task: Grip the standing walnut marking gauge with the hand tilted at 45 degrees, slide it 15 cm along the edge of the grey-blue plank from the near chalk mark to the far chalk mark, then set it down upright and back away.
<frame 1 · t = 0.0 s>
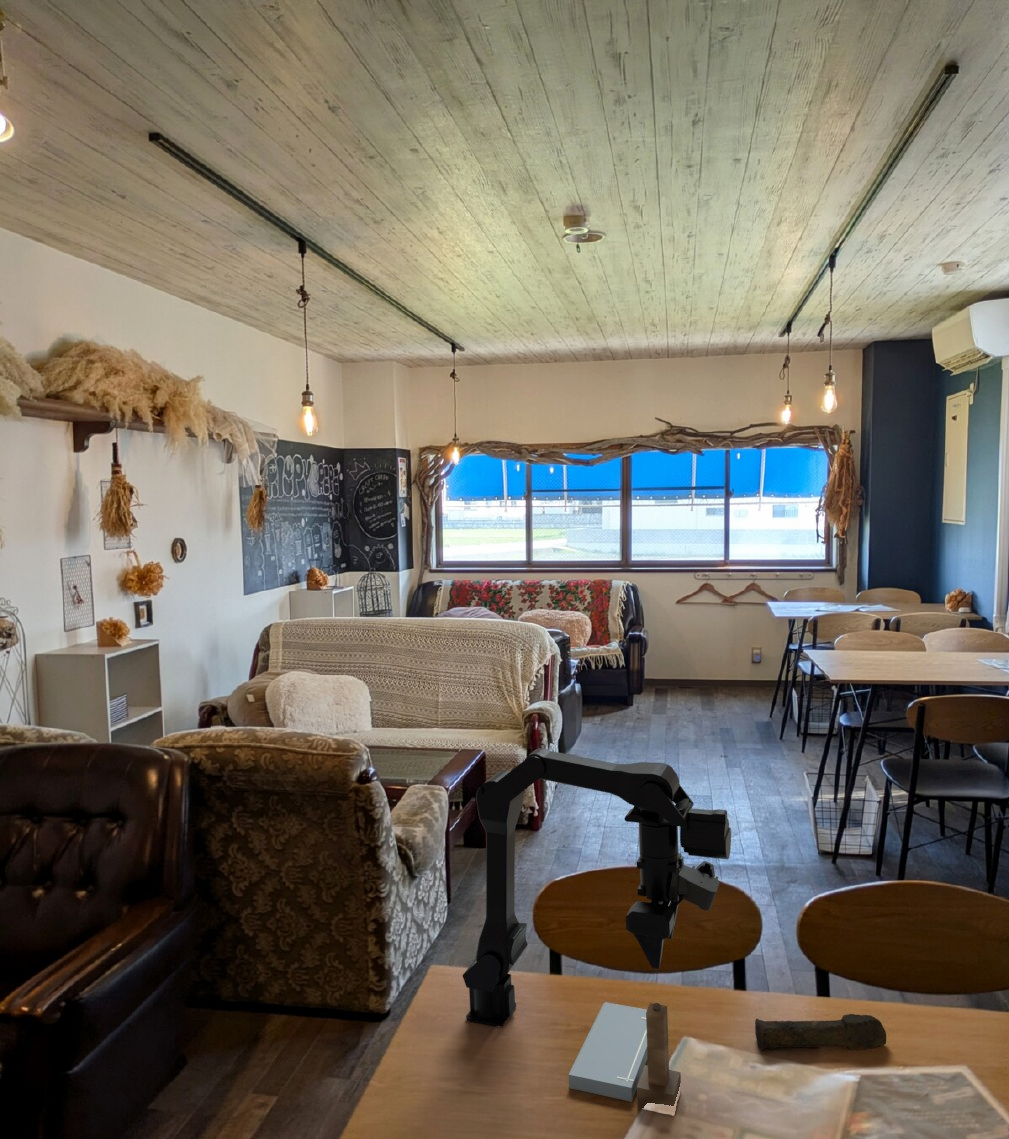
hand: (662, 952, 130), 15 cm above the table, tool pointing down, fingers open, 9 cm apart
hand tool: (819, 1045, 131), on the table
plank: (617, 1054, 130), on the table
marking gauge: (659, 1100, 119), on the table
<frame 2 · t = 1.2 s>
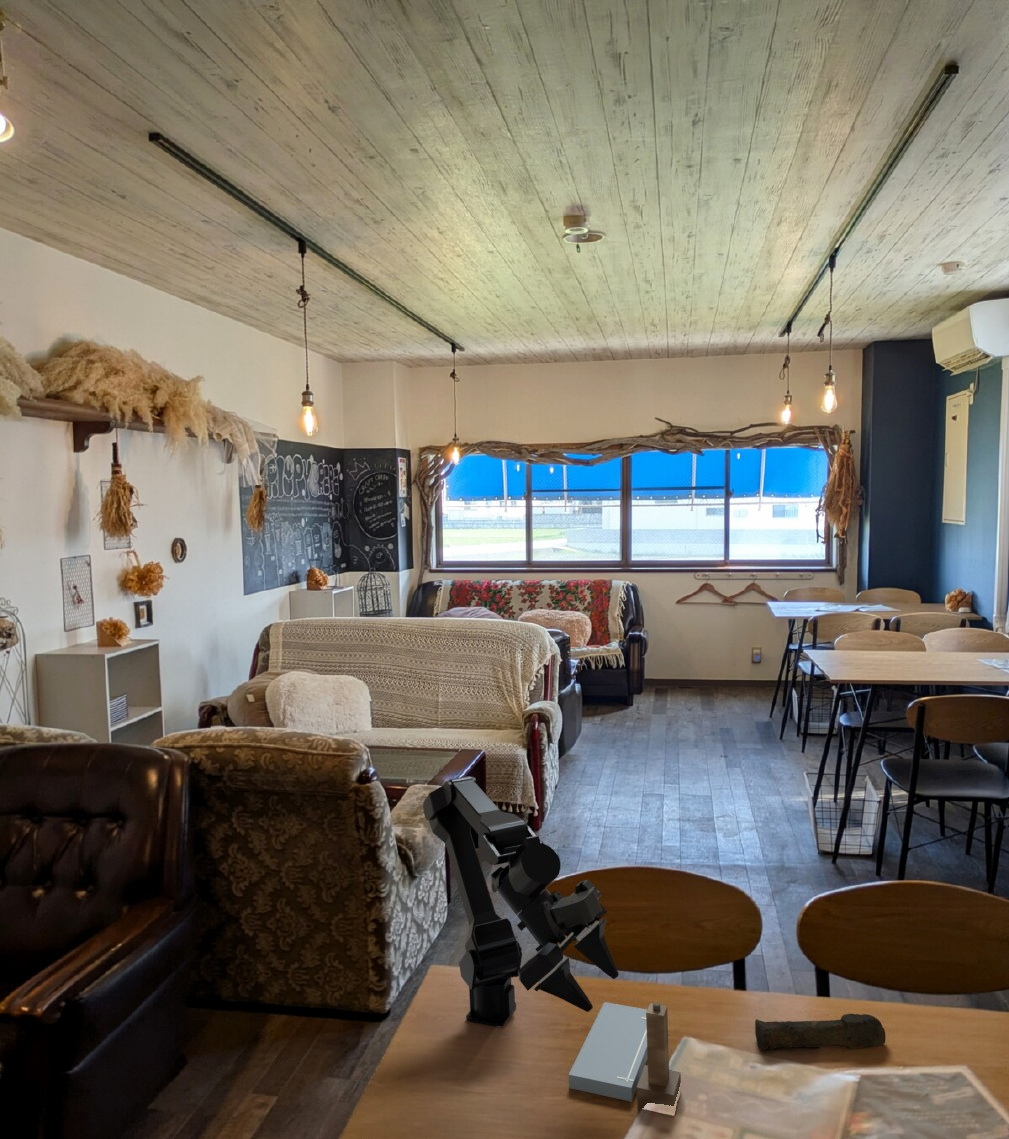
hand: (604, 992, 122), 13 cm above the table, tool tilted 45°, fingers open, 9 cm apart
nothing on the table moved.
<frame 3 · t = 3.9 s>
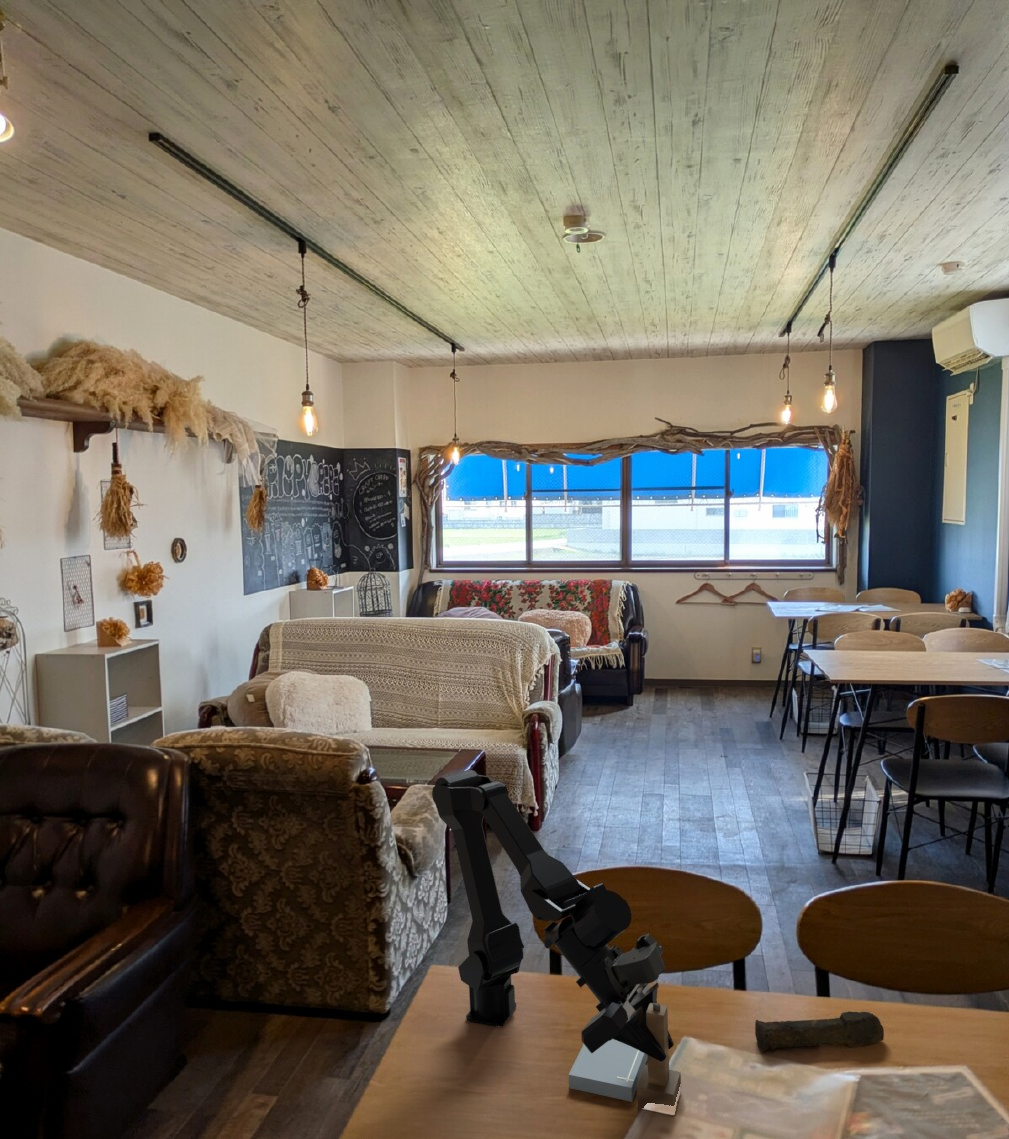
hand: (667, 1053, 118), 7 cm above the table, tool tilted 45°, fingers closed on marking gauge, 3 cm apart
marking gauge: (659, 1100, 119), on the table, touching gripper
everything else where it was.
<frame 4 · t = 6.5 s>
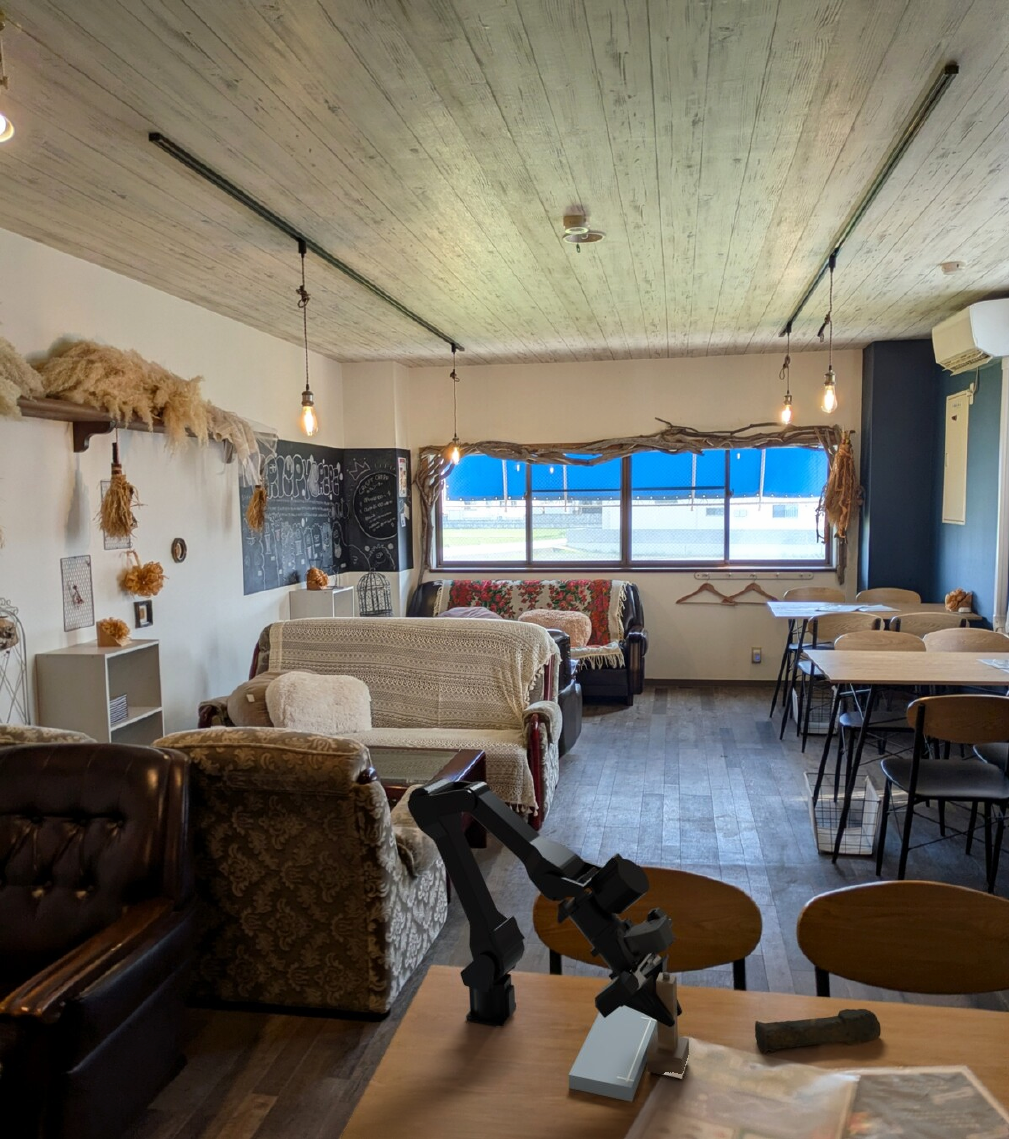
hand: (676, 1019, 125), 8 cm above the table, tool tilted 45°, fingers closed on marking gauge, 3 cm apart
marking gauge: (668, 1064, 126), point 1 cm above the table, touching gripper
everything else where it was.
when the fingers open (7 cm above the table, at t = 9.3 s): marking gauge stays where it is, on the table.
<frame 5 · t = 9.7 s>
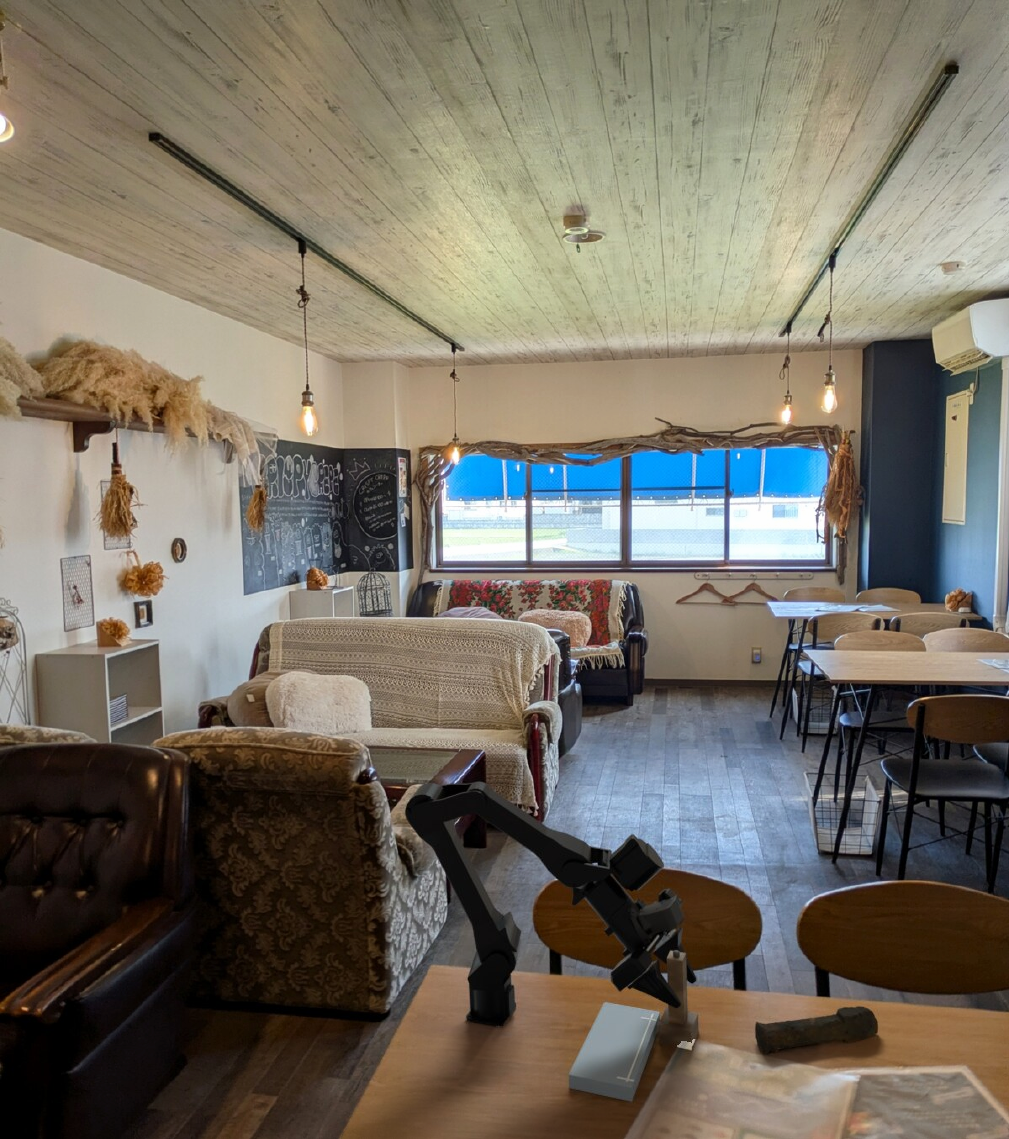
hand: (687, 993, 132), 7 cm above the table, tool tilted 45°, fingers open, 7 cm apart
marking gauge: (678, 1037, 133), on the table
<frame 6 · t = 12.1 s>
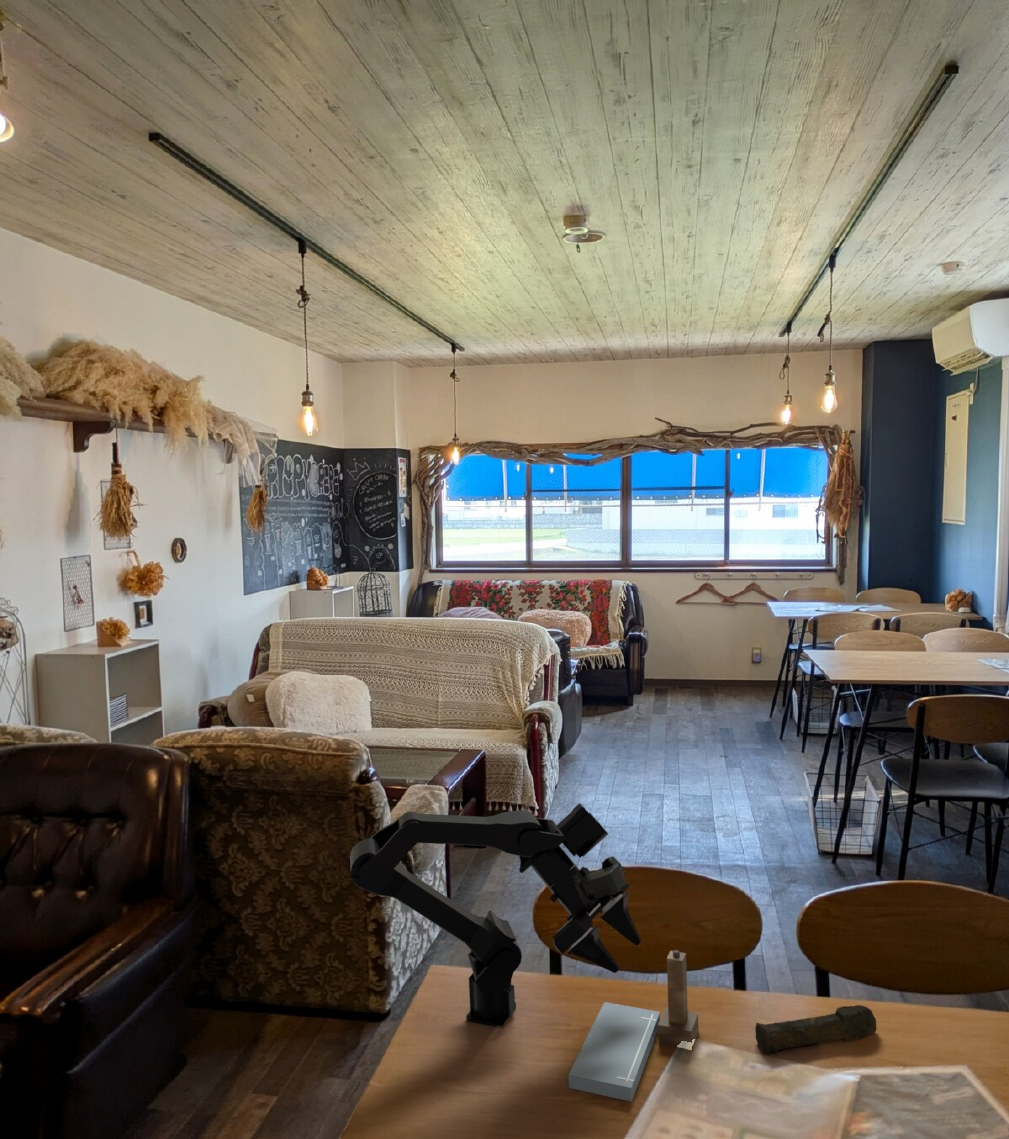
hand: (628, 957, 137), 11 cm above the table, tool tilted 45°, fingers open, 9 cm apart
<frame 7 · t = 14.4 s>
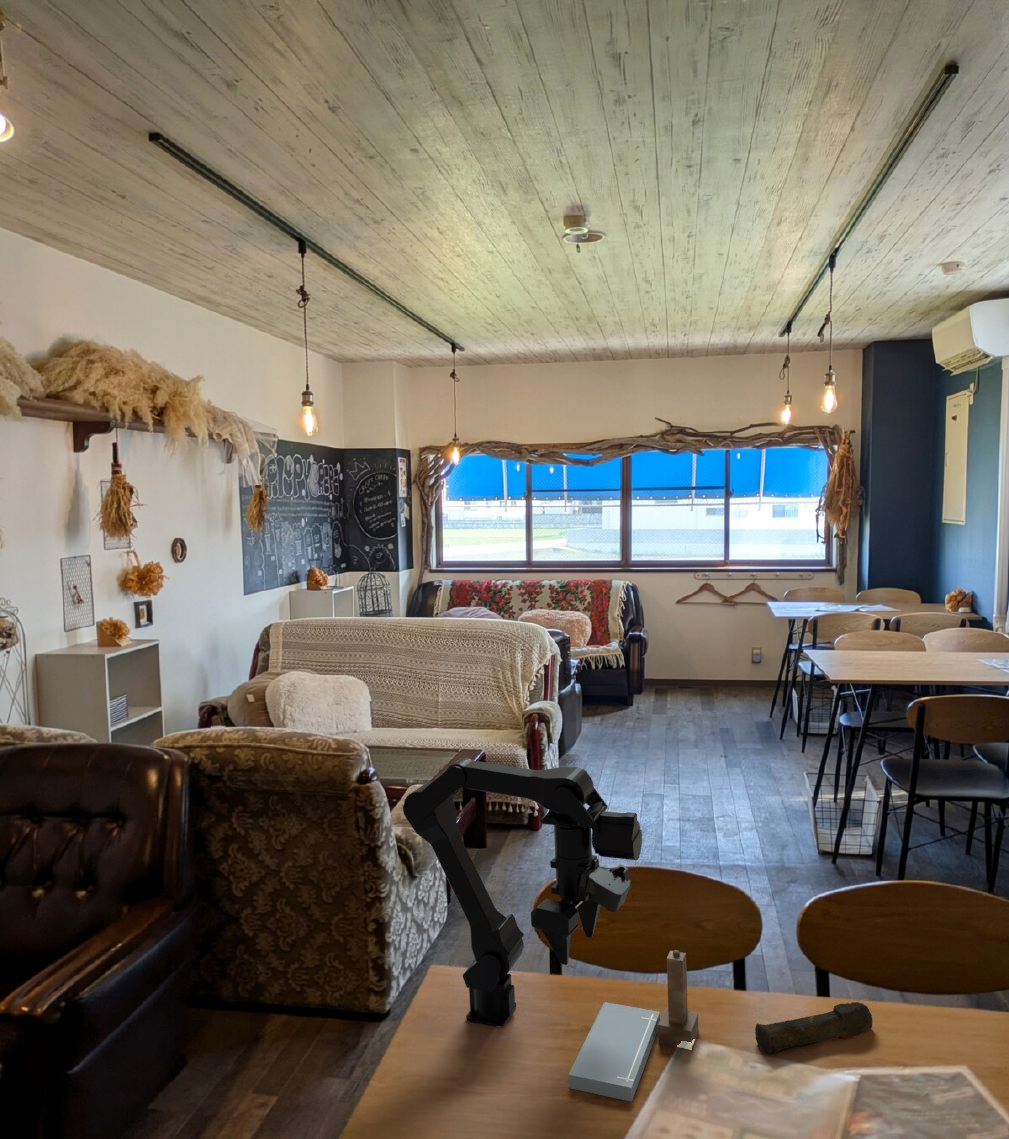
hand: (577, 950, 135), 13 cm above the table, tool pointing down, fingers open, 9 cm apart
at the end: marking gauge 0.1 cm from the target spot, on the table; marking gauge tilted 0°; the gripper is holding nothing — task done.
